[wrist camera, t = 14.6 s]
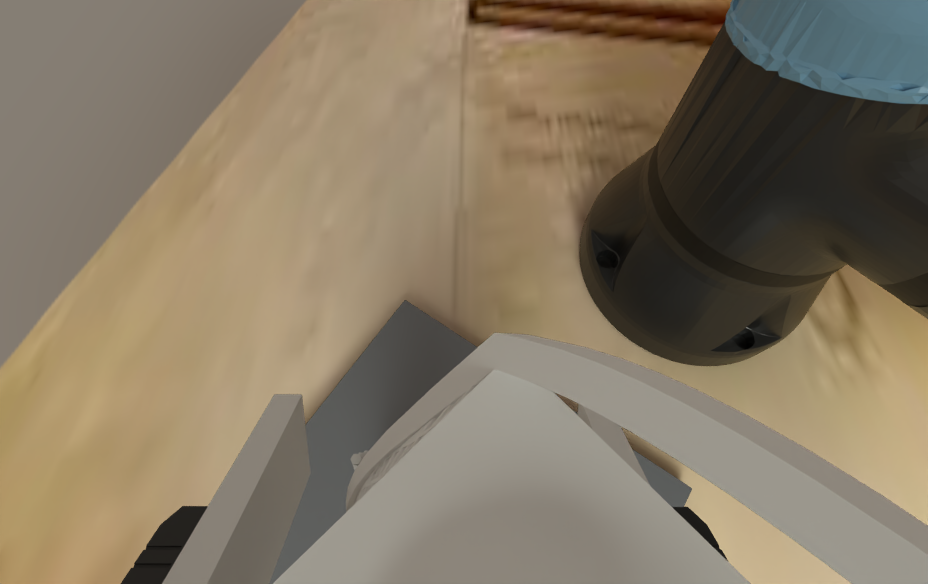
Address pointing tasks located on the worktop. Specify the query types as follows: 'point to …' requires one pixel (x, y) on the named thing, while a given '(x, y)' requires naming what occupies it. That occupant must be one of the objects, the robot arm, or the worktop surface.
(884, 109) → the robot arm
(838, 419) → the worktop surface
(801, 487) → the skyscraper
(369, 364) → the charcoal board
